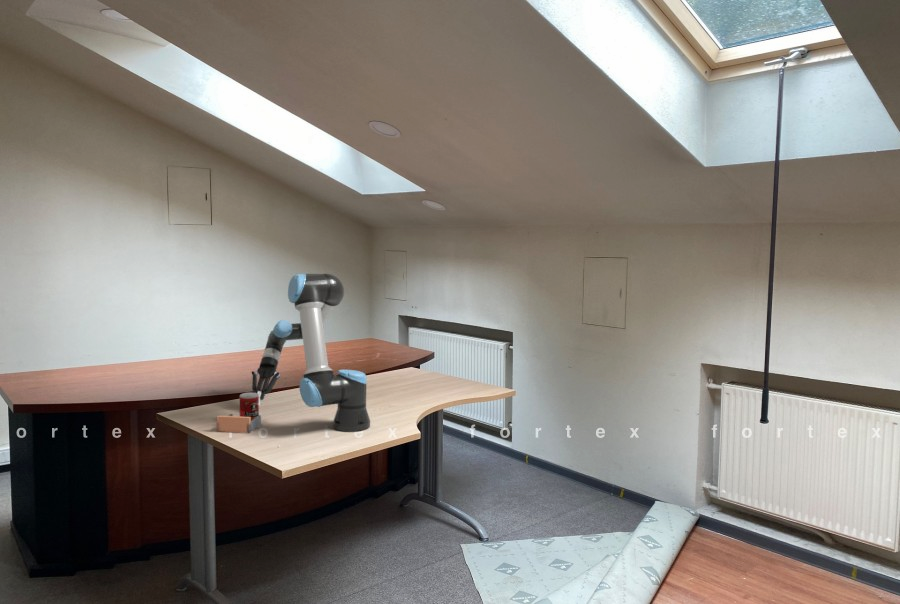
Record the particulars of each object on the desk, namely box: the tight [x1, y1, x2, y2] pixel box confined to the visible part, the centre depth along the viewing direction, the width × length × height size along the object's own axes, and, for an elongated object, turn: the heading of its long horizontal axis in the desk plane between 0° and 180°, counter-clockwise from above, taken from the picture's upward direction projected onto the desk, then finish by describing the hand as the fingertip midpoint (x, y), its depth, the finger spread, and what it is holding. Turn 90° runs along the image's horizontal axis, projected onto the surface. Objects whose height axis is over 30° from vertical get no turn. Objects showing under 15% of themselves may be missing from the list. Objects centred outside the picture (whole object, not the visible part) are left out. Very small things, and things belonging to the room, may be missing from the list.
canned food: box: [239, 392, 260, 421], centre depth 259 cm, size 8×8×11 cm
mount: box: [216, 413, 262, 434], centre depth 249 cm, size 13×12×6 cm
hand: (256, 405), depth 267 cm, fingers closed
